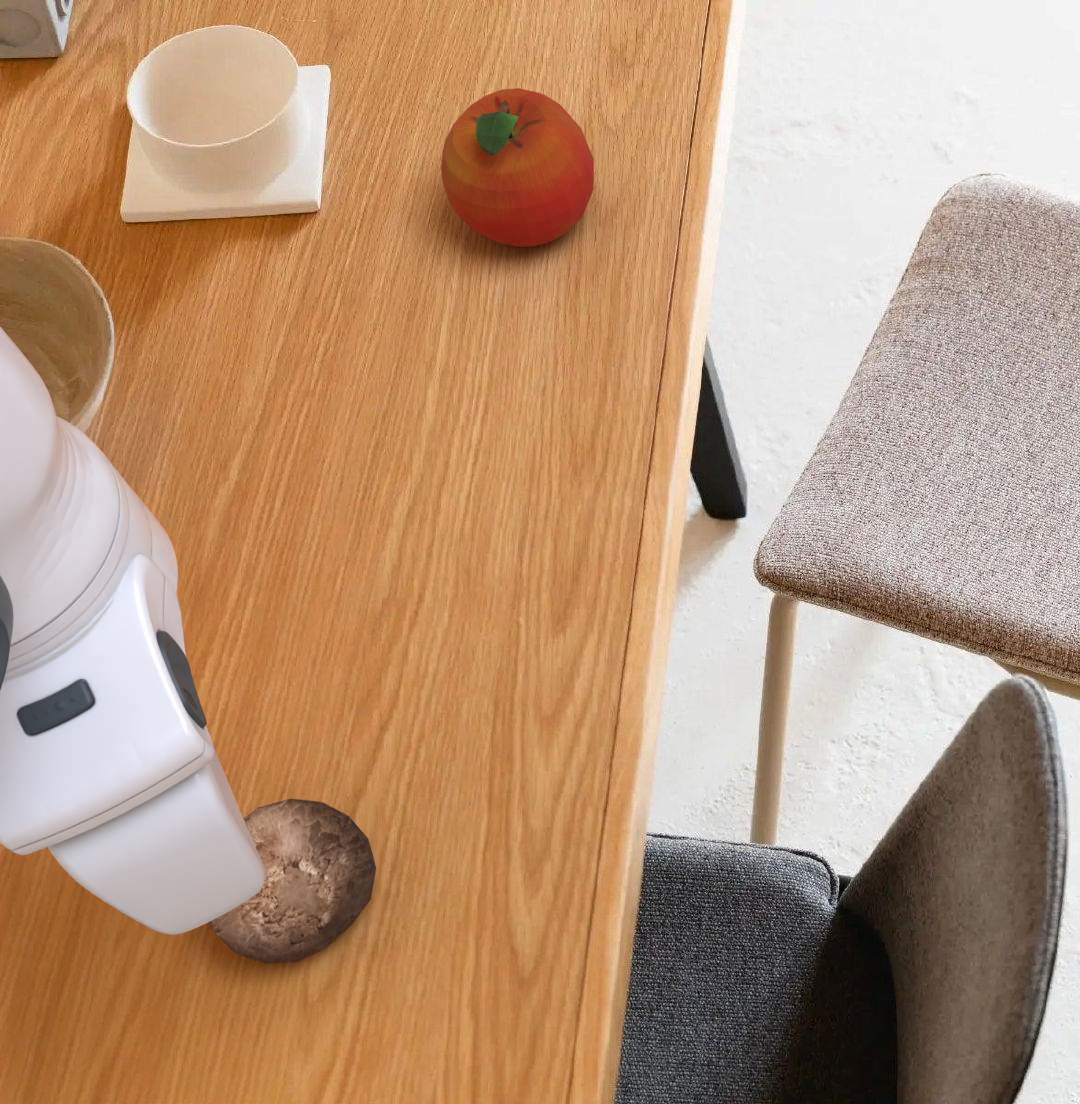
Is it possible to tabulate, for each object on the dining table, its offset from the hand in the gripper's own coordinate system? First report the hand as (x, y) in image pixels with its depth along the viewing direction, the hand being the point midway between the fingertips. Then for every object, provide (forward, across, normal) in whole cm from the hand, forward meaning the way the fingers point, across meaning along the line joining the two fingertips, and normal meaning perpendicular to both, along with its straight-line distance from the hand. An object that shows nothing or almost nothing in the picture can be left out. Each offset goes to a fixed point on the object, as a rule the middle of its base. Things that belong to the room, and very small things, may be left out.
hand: (189, 742), depth 60 cm
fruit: (+18, -35, +28) cm, 48 cm away
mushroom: (+18, +1, -1) cm, 18 cm away
